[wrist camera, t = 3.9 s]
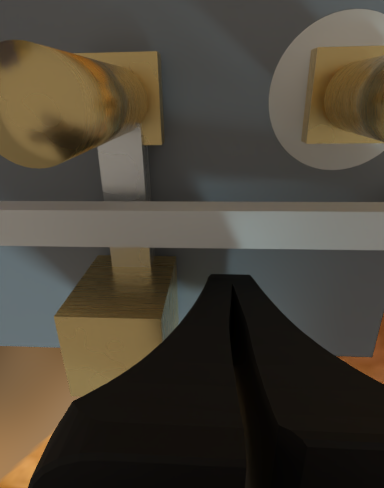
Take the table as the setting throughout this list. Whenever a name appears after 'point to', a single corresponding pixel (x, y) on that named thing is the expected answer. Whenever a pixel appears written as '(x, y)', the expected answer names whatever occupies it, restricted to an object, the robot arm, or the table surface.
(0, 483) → the table surface
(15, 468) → the table surface
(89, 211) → the gauge board
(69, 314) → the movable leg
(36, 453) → the table surface
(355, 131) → the gold cylinder
